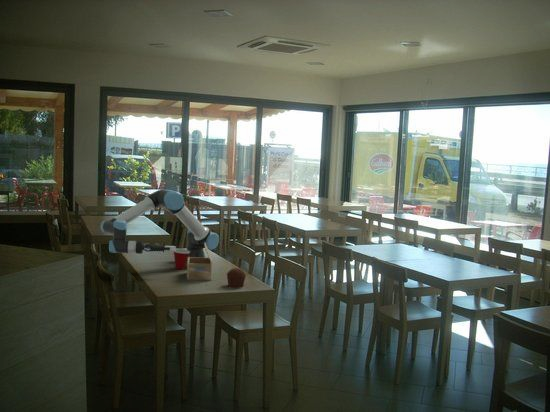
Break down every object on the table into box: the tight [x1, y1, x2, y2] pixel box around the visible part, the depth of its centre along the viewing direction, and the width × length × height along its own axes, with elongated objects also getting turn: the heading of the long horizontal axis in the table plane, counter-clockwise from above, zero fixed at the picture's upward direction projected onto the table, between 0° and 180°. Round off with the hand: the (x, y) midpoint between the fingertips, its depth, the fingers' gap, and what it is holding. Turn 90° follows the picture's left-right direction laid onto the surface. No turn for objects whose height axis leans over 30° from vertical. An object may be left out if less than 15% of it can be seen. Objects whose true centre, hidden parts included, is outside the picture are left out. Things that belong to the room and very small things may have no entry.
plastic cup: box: [173, 248, 190, 270], centre depth 373 cm, size 11×11×12 cm
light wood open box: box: [186, 257, 213, 281], centre depth 353 cm, size 21×14×10 cm
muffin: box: [226, 267, 247, 288], centre depth 334 cm, size 12×11×10 cm
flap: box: [204, 242, 213, 264], centre depth 353 cm, size 19×1×10 cm, turn 7°
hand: (175, 248), depth 350 cm, fingers closed
